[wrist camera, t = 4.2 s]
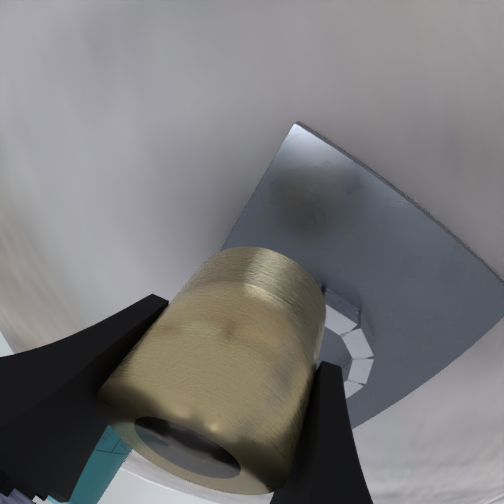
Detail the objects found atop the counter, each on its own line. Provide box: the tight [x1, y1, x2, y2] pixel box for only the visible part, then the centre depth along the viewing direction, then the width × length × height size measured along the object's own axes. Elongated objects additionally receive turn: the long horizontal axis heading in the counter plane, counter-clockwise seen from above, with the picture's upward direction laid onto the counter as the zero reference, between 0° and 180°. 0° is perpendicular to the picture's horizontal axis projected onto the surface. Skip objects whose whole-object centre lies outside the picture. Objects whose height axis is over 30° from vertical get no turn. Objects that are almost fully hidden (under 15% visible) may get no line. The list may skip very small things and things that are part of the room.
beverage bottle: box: [35, 425, 132, 504], centre depth 23 cm, size 6×7×20 cm
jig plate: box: [221, 122, 504, 429], centre depth 19 cm, size 16×20×2 cm
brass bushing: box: [97, 246, 326, 495], centre depth 9 cm, size 5×5×6 cm
